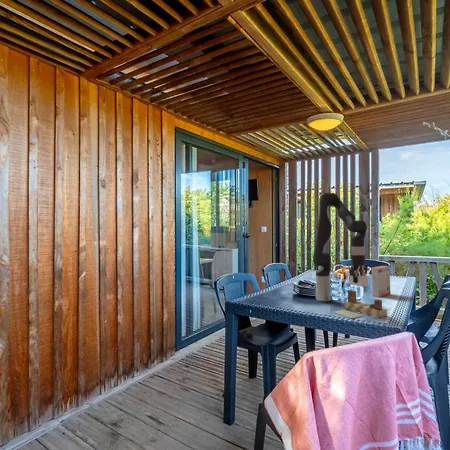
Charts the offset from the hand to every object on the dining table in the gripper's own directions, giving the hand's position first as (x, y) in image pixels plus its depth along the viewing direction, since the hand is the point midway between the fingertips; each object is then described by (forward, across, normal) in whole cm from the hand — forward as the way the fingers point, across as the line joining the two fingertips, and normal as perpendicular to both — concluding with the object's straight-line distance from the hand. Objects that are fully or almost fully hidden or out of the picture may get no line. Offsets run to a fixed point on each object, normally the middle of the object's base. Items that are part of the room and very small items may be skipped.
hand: (358, 282), depth 187 cm
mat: (+18, +8, -1) cm, 20 cm away
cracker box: (+19, -48, -24) cm, 57 cm away
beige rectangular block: (+2, 0, 0) cm, 2 cm away
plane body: (+18, -4, 0) cm, 19 cm away
